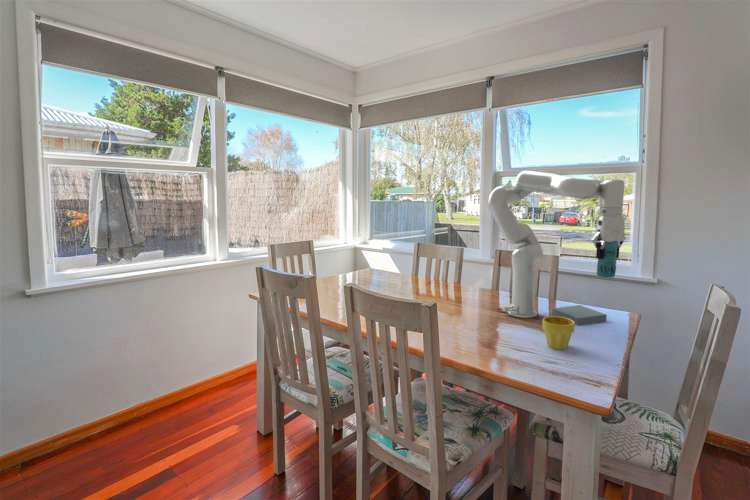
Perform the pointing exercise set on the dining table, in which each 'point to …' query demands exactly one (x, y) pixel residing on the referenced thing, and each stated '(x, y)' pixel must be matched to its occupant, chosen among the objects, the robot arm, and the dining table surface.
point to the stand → (580, 314)
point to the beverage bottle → (608, 260)
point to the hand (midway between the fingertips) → (607, 257)
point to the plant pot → (558, 331)
